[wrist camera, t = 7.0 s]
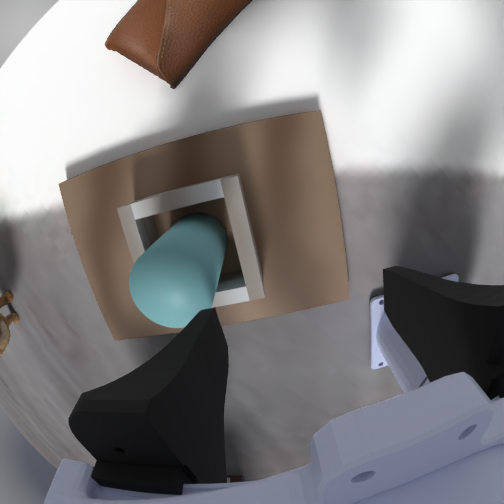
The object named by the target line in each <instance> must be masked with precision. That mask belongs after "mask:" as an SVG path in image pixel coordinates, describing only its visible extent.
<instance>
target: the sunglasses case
mask: <svg viewBox="0 0 504 504" xmlns="http://www.w3.org/2000/svg"><path fill="white" fill-rule="evenodd" d="M251 1H252V0H138V1H137V2H136V3H135V5H134V6H133V7H132V8H131V9H130V10H129V11H128V12H127V14H126V15H125V16H124V17H123V18H122V19H121V21H120V22H119V23H118V24H117V25H116V27H115V28H114V30H113V31H112V32H111V34H110V35H109V37H108V38H107V41H106V42H105V46H106V47H107V49H108V50H113V51H117V52H118V53H120V54H121V55H123V56H125V57H126V58H128V59H130V60H131V61H133V62H135V63H136V64H138V65H139V66H142V67H143V68H144V69H146V70H148V71H149V72H151V73H153V74H154V75H156V76H158V77H159V78H161V79H162V80H165V81H166V82H167V83H169V84H170V85H171V86H170V88H172V89H175V88H176V87H177V86H178V85H179V84H180V82H181V81H182V80H183V79H184V77H185V76H186V75H187V74H188V72H189V71H190V70H191V69H192V67H193V66H194V65H195V64H196V62H197V61H198V60H199V58H200V57H201V56H202V55H203V53H204V52H205V51H206V49H207V48H208V47H209V46H210V45H211V43H212V42H213V41H214V40H215V39H216V38H217V37H218V36H219V35H220V34H221V32H222V31H223V30H224V29H225V28H226V27H227V26H228V25H229V24H230V23H231V22H232V21H233V19H234V18H235V17H236V16H237V15H238V14H239V13H240V12H241V11H242V10H243V9H244V8H245V7H246V6H247V5H248V4H249V3H250V2H251Z"/></svg>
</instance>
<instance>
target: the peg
mask: <svg viewBox="0 0 504 504" xmlns="http://www.w3.org/2000/svg"><path fill="white" fill-rule="evenodd" d="M227 244H228V238H227V233H226V231H225V228H224V227H223V225H222V224H221V222H220V221H219V220H218V219H216V218H215V217H213V216H212V215H209V214H207V213H202V212H194V213H190V214H187V215H185V216H183V217H182V218H181V219H179V220H178V221H177V222H176V223H175V224H174V225H173V226H172V227H171V228H170V229H169V230H167V231H166V232H165V233H164V234H163V235H162V236H161V237H160V238H159V239H158V240H157V241H156V242H155V243H154V244H152V245H151V246H150V247H149V248H148V249H147V250H146V251H145V252H144V253H143V254H142V255H141V256H140V257H139V258H138V259H137V260H136V262H135V263H134V265H133V267H132V269H131V272H130V276H129V288H130V293H131V296H132V298H133V301H134V303H135V304H136V306H137V307H138V309H139V310H140V311H141V312H142V313H143V314H144V315H145V316H146V317H147V318H149V319H150V320H152V321H153V322H155V323H157V324H160V325H162V326H165V327H170V328H184V327H185V326H186V325H187V324H188V323H189V322H190V321H191V320H192V319H193V318H194V316H195V315H196V314H197V313H198V312H199V311H200V310H203V309H208V308H211V307H212V305H213V301H214V297H215V293H216V289H217V285H218V281H219V277H220V273H221V269H222V265H223V261H224V257H225V253H226V249H227Z"/></svg>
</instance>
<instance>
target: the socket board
mask: <svg viewBox="0 0 504 504" xmlns="http://www.w3.org/2000/svg"><path fill="white" fill-rule="evenodd" d="M59 187H60V191H61V195H62V199H63V203H64V207H65V210H66V214H67V218H68V221H69V224H70V228H71V231H72V234H73V237H74V240H75V244H76V247H77V250H78V253H79V255H80V258H81V261H82V264H83V267H84V269H85V272H86V275H87V277H88V280H89V283H90V285H91V288H92V290H93V293H94V295H95V298H96V300H97V302H98V305H99V307H100V309H101V312H102V314H103V316H104V318H105V321H106V323H107V325H108V327H109V329H110V331H111V334H112V336H113V338H114V340H124V339H132V338H141V337H149V336H157V335H164V334H171V333H178V332H181V331H182V330H183V329H184V328H170V327H165V326H162V325H160V324H157V323H155V322H153V321H152V320H150V319H149V318H147V317H146V316H145V315H144V314H143V313H142V312H141V311H140V310H139V309H138V307H137V306H136V304H135V303H134V301H133V298H132V296H131V293H130V288H129V276H130V272H131V269H132V267H133V265H134V263H135V262H136V260H137V259H138V258H139V257H140V256H141V255H142V254H143V253H144V252H145V251H146V250H147V249H148V248H149V247H150V246H151V245H152V244H154V243H155V242H156V241H157V240H158V239H159V238H160V237H161V236H162V235H163V234H164V233H165V232H166V231H167V230H169V229H170V228H171V227H172V226H173V225H174V224H175V223H176V222H177V221H178V220H179V219H181V218H182V217H183V216H185V215H187V214H190V213H194V212H202V213H207V214H209V215H212V216H213V217H215V218H216V219H218V220H219V221H220V222H221V224H222V225H223V227H224V228H225V231H226V233H227V238H228V244H227V249H226V253H225V257H224V261H223V265H222V269H221V273H220V277H219V281H218V285H217V289H216V293H215V297H214V301H213V305H212V307H211V308H214V307H215V308H216V312H217V315H218V318H219V321H220V324H221V326H222V325H228V324H234V323H239V322H245V321H250V320H255V319H261V318H266V317H271V316H276V315H281V314H285V313H290V312H295V311H300V310H304V309H309V308H313V307H318V306H322V305H326V304H330V303H335V302H339V301H343V300H347V299H350V295H349V284H348V273H347V264H346V255H345V246H344V238H343V230H342V223H341V216H340V209H339V203H338V196H337V190H336V184H335V178H334V173H333V167H332V162H331V156H330V151H329V146H328V141H327V137H326V132H325V127H324V123H323V118H322V114H321V110H319V111H312V112H305V113H298V114H292V115H286V116H280V117H275V118H269V119H264V120H259V121H254V122H249V123H244V124H240V125H235V126H231V127H226V128H222V129H218V130H214V131H210V132H206V133H202V134H199V135H195V136H191V137H188V138H184V139H180V140H177V141H174V142H170V143H167V144H164V145H160V146H157V147H154V148H151V149H148V150H145V151H142V152H139V153H136V154H133V155H130V156H127V157H124V158H122V159H119V160H116V161H113V162H111V163H108V164H105V165H103V166H100V167H98V168H95V169H93V170H90V171H88V172H85V173H83V174H80V175H78V176H76V177H73V178H71V179H69V180H66V181H64V182H62V183H60V184H59Z"/></svg>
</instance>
